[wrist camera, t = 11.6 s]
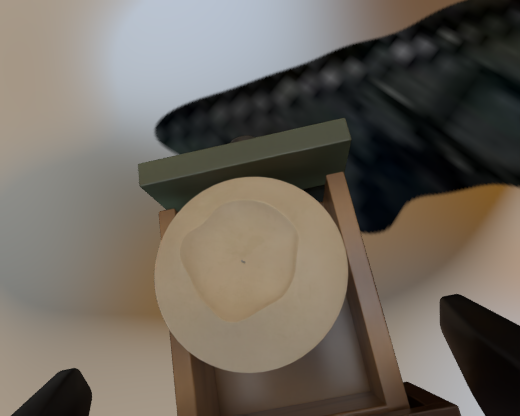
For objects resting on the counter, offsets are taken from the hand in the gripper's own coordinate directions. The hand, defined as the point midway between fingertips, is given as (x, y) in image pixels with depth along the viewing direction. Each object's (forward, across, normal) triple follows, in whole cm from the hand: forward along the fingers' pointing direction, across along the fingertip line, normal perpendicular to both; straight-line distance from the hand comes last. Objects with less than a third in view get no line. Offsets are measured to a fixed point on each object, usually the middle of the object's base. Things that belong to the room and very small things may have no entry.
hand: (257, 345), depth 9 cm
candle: (+8, 0, +5) cm, 10 cm away
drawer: (+10, 0, +5) cm, 11 cm away
